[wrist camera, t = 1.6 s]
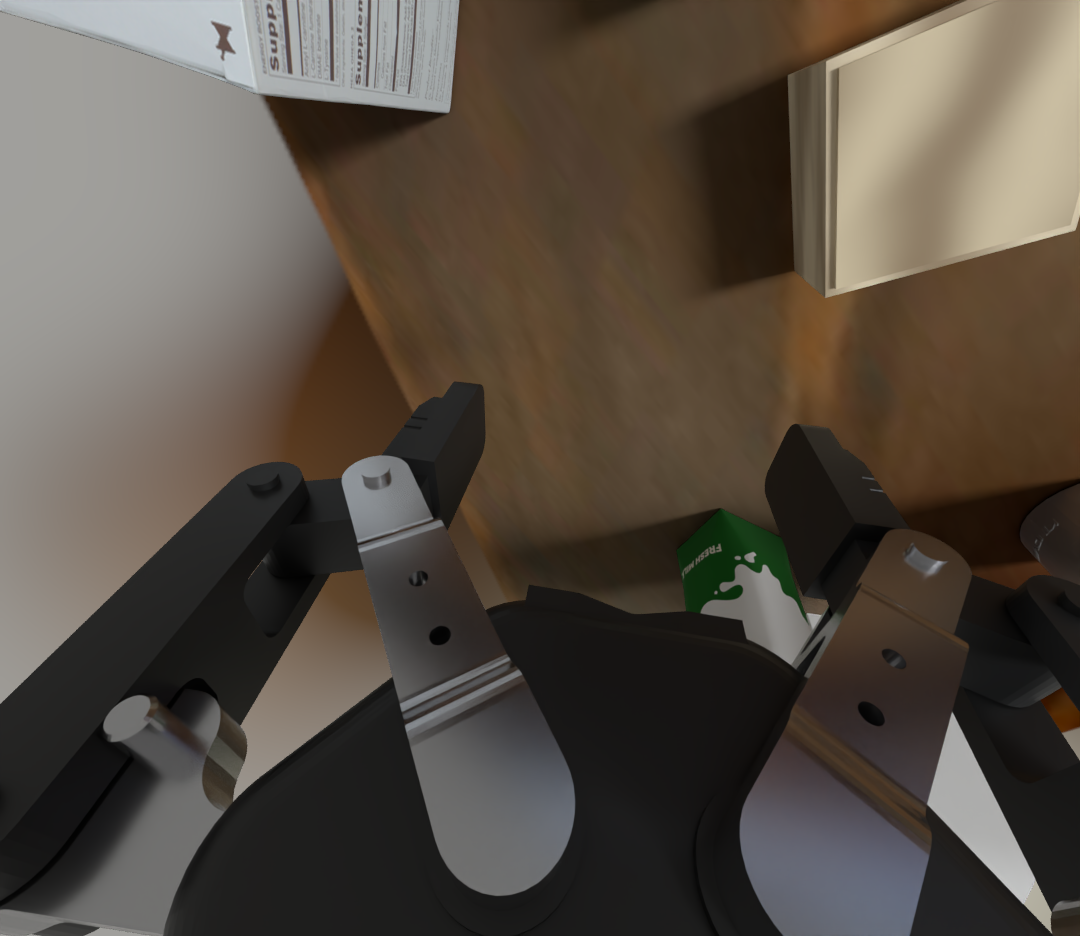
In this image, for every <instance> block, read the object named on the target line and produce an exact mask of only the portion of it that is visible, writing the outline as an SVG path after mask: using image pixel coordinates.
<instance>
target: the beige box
mask: <svg viewBox="0 0 1080 936" xmlns="http://www.w3.org/2000/svg"><path fill="white" fill-rule="evenodd" d="M788 97H789V126H790V155H791V184H792V213H793V242H794V271H795V272H796V273H797V274H799V275H800V276H801V277H802V278H803V279H804V280H805V281H807V282H808V283H809V284H810V285H811V286H812V287H813V288H815V289H816V290H817V291H818V292H819V293H820V294H822V295H823V296H824V297H825V298H827V297H831V296H834V295H838V294H842V293H845V292H849V291H853V290H856V289H860V288H864V287H868V286H871V285H875V284H879V283H882V282H886V281H890V280H893V279H897V278H901V277H904V276H908V275H912V274H915V273H919V272H923V271H927V270H930V269H934V268H938V267H941V266H945V265H949V264H952V263H956V262H960V261H963V260H967V259H971V258H975V257H978V256H982V255H986V254H989V253H993V252H997V251H1000V250H1004V249H1008V248H1011V247H1015V246H1019V245H1023V244H1026V243H1030V242H1034V241H1037V240H1041V239H1045V238H1048V237H1052V236H1056V235H1059V234H1063V233H1067V232H1071V231H1074V230H1076V226H1077V223H1078V219H1079V216H1080V0H960V1H958V2H956V3H953V4H951V5H949V6H946V7H944V8H942V9H939V10H937V11H935V12H933V13H930V14H928V15H926V16H923V17H921V18H919V19H916V20H914V21H912V22H910V23H907V24H905V25H903V26H900V27H898V28H896V29H893V30H891V31H889V32H886V33H884V34H882V35H880V36H877V37H875V38H873V39H870V40H868V41H866V42H863V43H861V44H859V45H856V46H854V47H852V48H850V49H847V50H845V51H843V52H840V53H838V54H836V55H833V56H831V57H829V58H826V59H824V60H822V61H820V62H817V63H815V64H813V65H810V66H808V67H806V68H803V69H801V70H799V71H796V72H794V73H792V74H790V75H788Z"/></svg>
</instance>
